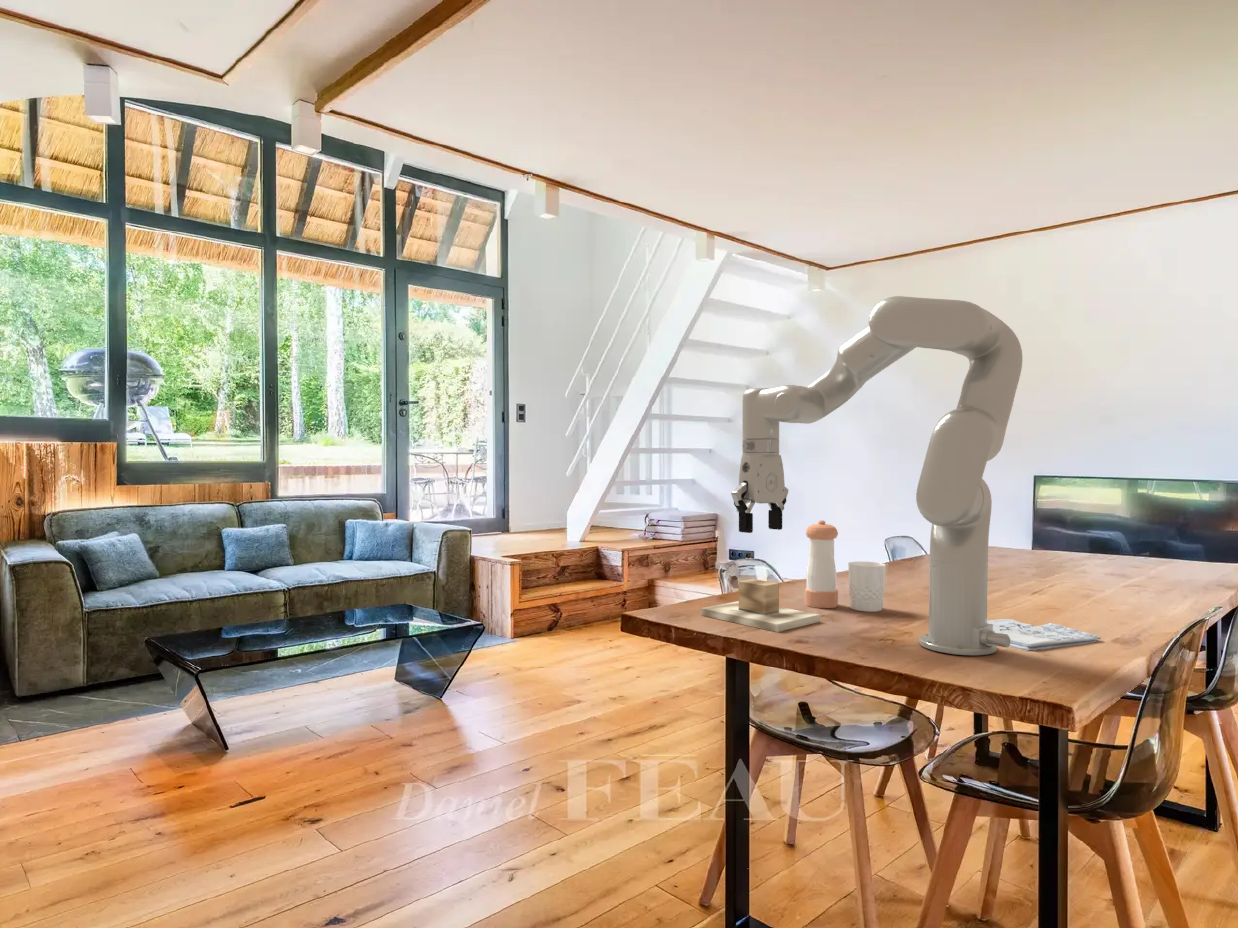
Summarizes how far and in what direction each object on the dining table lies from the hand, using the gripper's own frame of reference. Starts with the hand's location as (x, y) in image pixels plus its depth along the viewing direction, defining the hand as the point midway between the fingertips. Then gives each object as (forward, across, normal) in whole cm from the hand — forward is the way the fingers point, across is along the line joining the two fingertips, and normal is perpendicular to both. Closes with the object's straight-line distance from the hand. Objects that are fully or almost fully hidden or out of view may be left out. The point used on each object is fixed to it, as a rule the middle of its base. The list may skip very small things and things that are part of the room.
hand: (760, 530), depth 162 cm
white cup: (+19, +26, -9) cm, 33 cm away
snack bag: (+20, +27, -41) cm, 52 cm away
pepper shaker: (+18, +22, 0) cm, 29 cm away
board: (+18, 0, 0) cm, 18 cm away
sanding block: (+17, 0, 0) cm, 17 cm away
